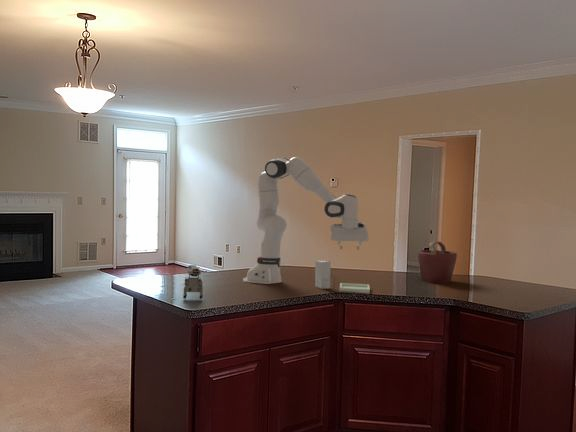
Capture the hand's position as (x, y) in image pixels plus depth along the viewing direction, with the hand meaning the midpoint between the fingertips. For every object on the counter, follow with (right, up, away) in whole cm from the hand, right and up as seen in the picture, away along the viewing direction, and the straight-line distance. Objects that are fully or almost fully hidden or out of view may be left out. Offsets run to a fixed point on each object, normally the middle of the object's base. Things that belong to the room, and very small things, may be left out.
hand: (349, 249), depth 288 cm
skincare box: (-15, -22, +5) cm, 27 cm away
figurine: (-79, -21, -34) cm, 88 cm away
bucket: (+57, -23, +39) cm, 73 cm away
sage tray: (+3, -22, 0) cm, 22 cm away
